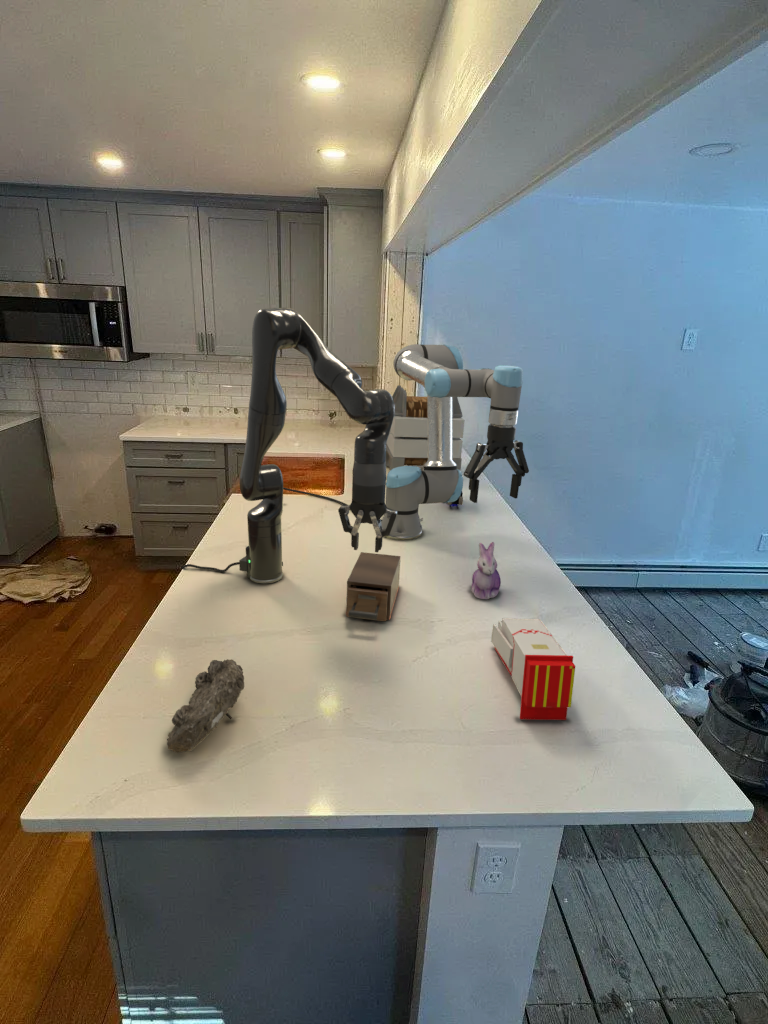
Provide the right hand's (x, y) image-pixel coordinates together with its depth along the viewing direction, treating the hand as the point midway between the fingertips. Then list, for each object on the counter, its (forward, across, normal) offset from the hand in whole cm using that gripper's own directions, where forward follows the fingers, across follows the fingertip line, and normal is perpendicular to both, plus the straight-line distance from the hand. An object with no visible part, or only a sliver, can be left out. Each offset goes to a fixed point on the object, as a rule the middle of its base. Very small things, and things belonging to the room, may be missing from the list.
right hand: (493, 499), depth 161 cm
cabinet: (+25, -36, -1) cm, 44 cm away
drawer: (+24, -40, -6) cm, 47 cm away
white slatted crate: (+26, +34, +108) cm, 116 cm away
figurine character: (+25, +25, +62) cm, 72 cm away
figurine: (+25, -5, -8) cm, 27 cm away
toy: (+25, -19, -44) cm, 54 cm away
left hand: (+4, -44, -14) cm, 46 cm away
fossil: (+25, -83, -33) cm, 93 cm away
